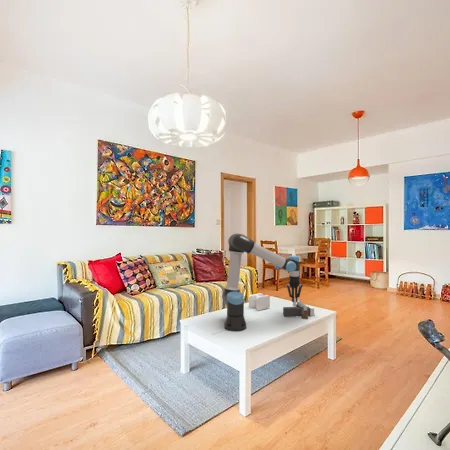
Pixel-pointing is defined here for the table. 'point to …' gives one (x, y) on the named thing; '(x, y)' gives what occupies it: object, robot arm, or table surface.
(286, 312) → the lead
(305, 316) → the brown wooden bar
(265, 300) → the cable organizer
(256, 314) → the table surface
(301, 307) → the latch
